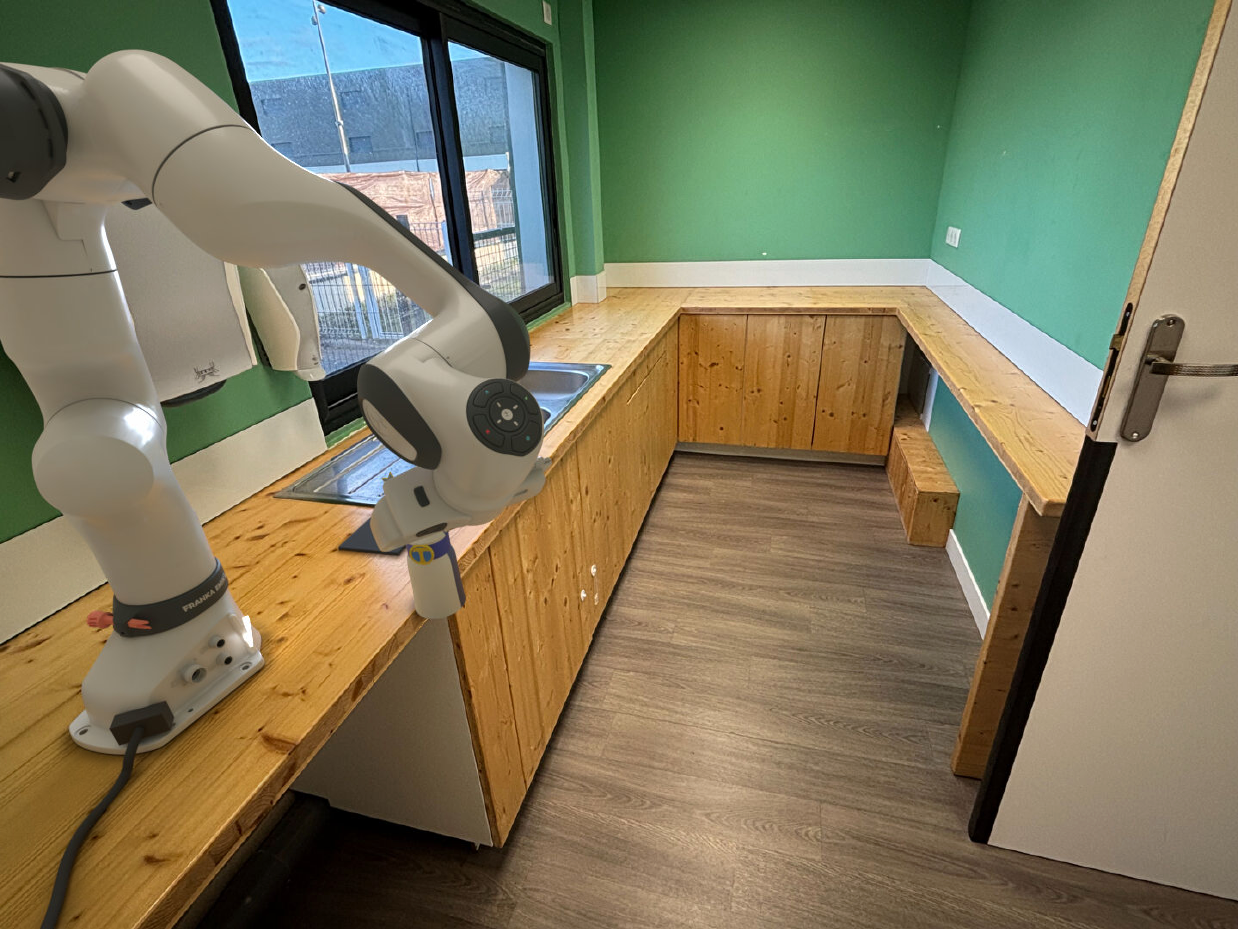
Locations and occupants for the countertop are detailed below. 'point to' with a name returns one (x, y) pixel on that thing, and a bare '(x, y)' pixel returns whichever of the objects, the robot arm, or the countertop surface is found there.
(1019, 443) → the countertop surface
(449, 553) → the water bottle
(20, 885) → the countertop surface
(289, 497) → the countertop surface
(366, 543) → the mat
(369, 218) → the robot arm
